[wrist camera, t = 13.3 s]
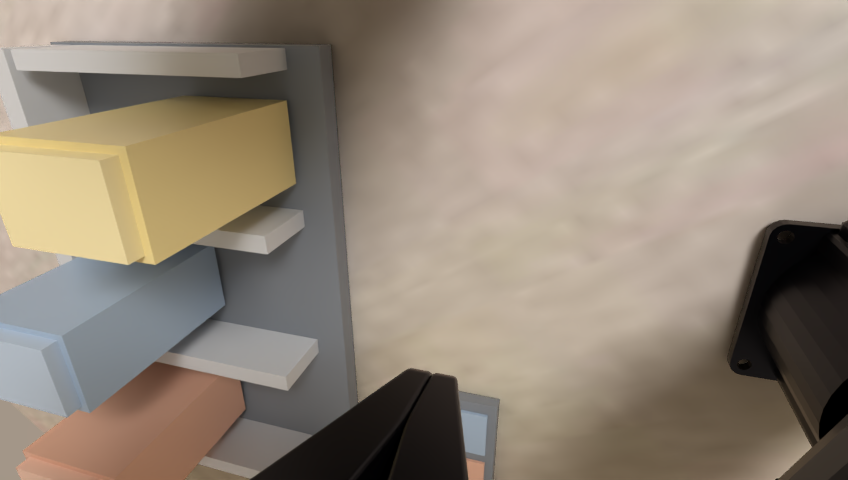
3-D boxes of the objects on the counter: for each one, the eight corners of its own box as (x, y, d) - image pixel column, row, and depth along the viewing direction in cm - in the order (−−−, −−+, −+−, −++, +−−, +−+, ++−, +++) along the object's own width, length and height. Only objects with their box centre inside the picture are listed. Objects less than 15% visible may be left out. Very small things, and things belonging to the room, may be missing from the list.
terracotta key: (245, 408, 29) (123, 549, 21) (174, 391, 30) (35, 518, 22) (235, 359, 27) (101, 491, 20) (161, 343, 28) (8, 461, 21)
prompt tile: (492, 497, 27) (489, 509, 27) (431, 482, 28) (427, 493, 28) (499, 399, 25) (497, 409, 24) (431, 385, 25) (427, 395, 25)
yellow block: (296, 183, 21) (139, 274, 14) (199, 174, 23) (8, 252, 15) (286, 100, 20) (106, 151, 12) (183, 95, 21) (-36, 139, 14)
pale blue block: (225, 304, 26) (75, 424, 18) (147, 290, 27) (-23, 397, 19) (213, 243, 24) (45, 345, 17) (131, 232, 26) (-59, 322, 18)
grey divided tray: (361, 443, 29) (329, 502, 25) (168, 396, 32) (118, 442, 29) (331, 44, 20) (276, 50, 16) (70, 41, 23) (-20, 45, 20)
